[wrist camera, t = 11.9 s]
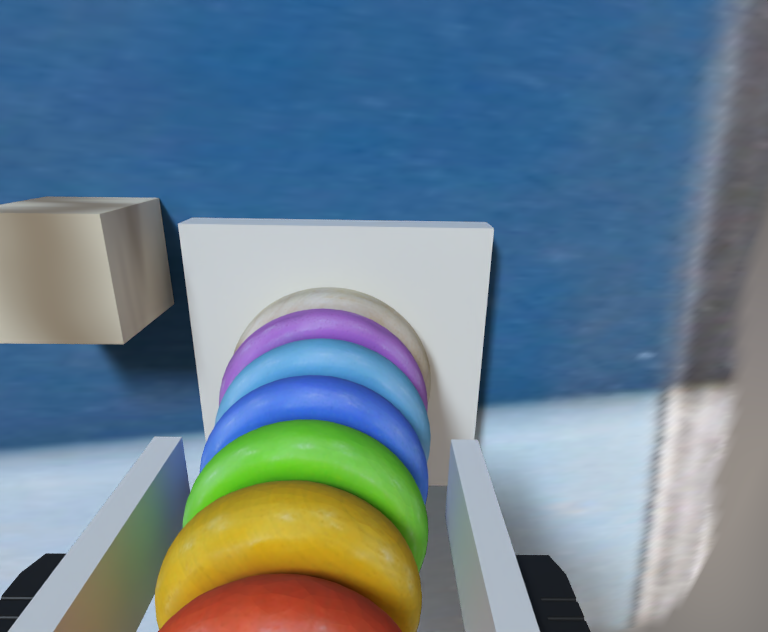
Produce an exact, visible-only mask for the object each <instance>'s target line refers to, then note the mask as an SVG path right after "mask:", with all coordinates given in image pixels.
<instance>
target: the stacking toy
mask: <svg viewBox="0 0 768 632" xmlns="http://www.w3.org/2000/svg"><path fill="white" fill-rule="evenodd" d="M430 390H431V372H430V365H429V361H428V357H427V354H426V351H425V349H424V346H423V344H422V341H421V340H420V338H419V336H418V335H417V333H416V332H415V330H414V329H413V328H412V326H411V325H410V324H409V323H408V322H407V320H406V319H405V318H404V317H403V316H402V315H400V314H399V313H398V312H397V311H396V310H395V309H393V308H392V307H390V306H389V305H387V304H386V303H384V302H382V301H381V300H379V299H377V298H375V297H373V296H371V295H368V294H365V293H362V292H359V291H355V290H351V289H345V288H335V287H321V288H311V289H306V290H302V291H298V292H295V293H292V294H289V295H287V296H284V297H282V298H280V299H278V300H276V301H275V302H273V303H271V304H270V305H268V306H267V307H266V308H264V309H263V310H262V311H261V312H260V313H259V314H257V315H256V317H255V318H254V319H253V320H252V321H251V322H250V323H249V325H248V326H247V328H246V329H245V331H244V332H243V334H242V335H241V337H240V339H239V341H238V343H237V345H236V348H235V351H234V354H233V357H232V358H231V360H230V361H229V363H228V365H227V367H226V370H225V373H224V376H223V379H222V383H221V387H220V394H219V408H218V412H217V415H216V419H215V426H214V428H213V430H212V432H211V433H210V435H209V437H208V440H207V442H206V445H205V447H204V451H203V454H202V458H201V466H200V474H199V476H198V477H197V479H196V481H195V483H194V485H193V487H192V490H191V492H190V494H189V497H188V499H187V503H186V506H185V511H184V517H183V529H182V530H181V531H180V532H179V533H178V535H177V537H176V538H175V540H174V541H173V543H172V544H171V546H170V547H169V549H168V551H167V553H166V556H165V558H164V560H163V563H162V565H161V568H160V572H159V575H158V579H157V583H156V588H155V606H156V618H157V623H158V627H159V631H158V632H416V631H417V628H418V625H419V620H420V614H421V606H422V592H421V582H420V576H419V571H420V569H421V566H422V563H423V560H424V557H425V554H426V548H427V542H428V518H427V513H426V507H425V504H426V499H427V494H428V468H427V461H428V457H429V452H430V440H431V433H430V424H429V419H428V415H427V411H428V401H429V397H430Z"/></svg>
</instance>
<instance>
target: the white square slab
mask: <svg viewBox="0 0 768 632" xmlns="http://www.w3.org/2000/svg"><path fill="white" fill-rule="evenodd" d="M178 228H179V236H180V244H181V251H182V259H183V267H184V275H185V283H186V290H187V298H188V306H189V314H190V321H191V329H192V337H193V345H194V353H195V360H196V368H197V376H198V384H199V392H200V399H201V407H202V415H203V423H204V430H205V438H206V442H207V440H208V437H209V435H210V433H211V432H212V430H213V428H214V426H215V419H216V415H217V412H218V408H219V394H220V387H221V383H222V379H223V376H224V373H225V370H226V367H227V365H228V363H229V361H230V360H231V358H232V357H233V354H234V351H235V348H236V345H237V343H238V341H239V339H240V337H241V335H242V334H243V332H244V331H245V329H246V328H247V326H248V325H249V323H250V322H251V321H252V320H253V319H254V318H255V317H256V315H257V314H259V313H260V312H261V311H262V310H263V309H264V308H266V307H267V306H268V305H270V304H271V303H273V302H275V301H276V300H278V299H280V298H282V297H284V296H287V295H289V294H292V293H295V292H298V291H302V290H306V289H311V288H321V287H335V288H345V289H351V290H355V291H359V292H362V293H365V294H368V295H371V296H373V297H375V298H377V299H379V300H381V301H382V302H384V303H386V304H387V305H389V306H390V307H392V308H393V309H395V310H396V311H397V312H398V313H399V314H400V315H402V316H403V317H404V318H405V319H406V320H407V322H408V323H409V324H410V325H411V326H412V328H413V329H414V330H415V332H416V333H417V335H418V336H419V338H420V340H421V341H422V344H423V346H424V349H425V351H426V354H427V357H428V361H429V365H430V372H431V390H430V397H429V401H428V411H427V415H428V419H429V424H430V433H431V440H430V452H429V457H428V461H427V468H428V486H448V473H449V459H450V446H451V440H474V437H475V426H476V416H477V405H478V394H479V384H480V373H481V362H482V352H483V341H484V330H485V320H486V309H487V298H488V288H489V277H490V266H491V256H492V245H493V234H494V228H493V227H492V226H490V225H489V224H488V223H487V222H446V221H380V220H315V219H249V218H190V219H188V220H186V221H183V222H181V223H179V224H178Z"/></svg>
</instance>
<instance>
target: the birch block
mask: <svg viewBox="0 0 768 632" xmlns="http://www.w3.org/2000/svg"><path fill="white" fill-rule="evenodd" d="M173 304H174V298H173V291H172V284H171V277H170V270H169V264H168V257H167V250H166V243H165V236H164V229H163V222H162V215H161V208H160V201H159V198H121V197H42V198H36V199H31V200H25V201H19V202H14V203H8V204H2V205H0V343H30V344H125V343H126V342H127V341H129V340H130V339H131V338H132V337H134V336H135V335H136V334H137V333H138V332H140V331H141V330H142V329H143V328H145V327H146V326H147V325H148V324H150V323H151V322H152V321H153V320H155V319H156V318H157V317H158V316H160V315H161V314H162V313H163V312H165V311H166V310H167V309H168V308H170V307H171V306H172V305H173Z"/></svg>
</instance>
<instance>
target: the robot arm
mask: <svg viewBox="0 0 768 632" xmlns="http://www.w3.org/2000/svg"><path fill="white" fill-rule="evenodd" d="M189 494H190V489H189V482H188V475H187V468H186V461H185V455H184V448H183V441H182V437H154V438H153V439H152V441H151V442H150V443H149V445H148V446H147V447H146V449H145V450H144V451H143V453H142V454H141V455H140V457H139V458H138V459H137V461H136V462H135V463H134V465H133V466H132V467H131V469H130V470H129V471H128V473H127V474H126V475H125V477H124V478H123V479H122V481H121V482H120V483H119V485H118V486H117V487H116V489H115V490H114V491H113V492H112V494H111V495H110V496H109V498H108V499H107V500H106V502H105V503H104V504H103V506H102V507H101V508H100V510H99V511H98V512H97V514H96V515H95V516H94V518H93V519H92V520H91V522H90V523H89V524H88V526H87V527H86V528H85V530H84V531H83V532H82V534H81V535H80V536H79V538H78V539H77V540H76V542H75V543H74V544H73V546H72V547H71V548H70V550H69V551H68V552H67V554H45V555H43V556H42V557H41V558H40V559H38V560H37V561H36V562H34V563H33V564H32V565H30V566H29V567H28V568H26V569H25V570H24V571H22V572H21V573H20V574H19V575H18V577H17V578H16V579H15V580H14V581H13V583H12V584H11V585H10V586H9V588H8V589H7V590H6V591H5V592H4V594H3V595H2V598H1V600H0V632H136V631H137V629H138V627H139V625H140V623H141V621H142V619H143V616H144V614H145V612H146V610H147V608H148V606H149V604H150V602H151V600H152V598H153V596H154V594H155V588H156V583H157V579H158V575H159V572H160V568H161V565H162V563H163V560H164V558H165V556H166V553H167V551H168V549H169V547H170V546H171V544H172V543H173V541H174V540H175V538H176V537H177V535H178V533H179V532H180V531H181V530H182V529H183V517H184V511H185V506H186V503H187V499H188V497H189ZM445 519H446V525H447V531H448V536H449V542H450V548H451V554H452V560H453V566H454V571H455V577H456V583H457V589H458V595H459V601H460V606H461V612H462V618H463V624H464V630H465V632H590V630H589V627H588V625H587V623H586V621H584V616H583V613H582V611H581V609H580V606H579V604H578V602H576V597H575V594H574V592H573V590H572V587H571V585H570V583H569V580H568V578H567V576H566V574H565V573H564V572H563V571H562V570H561V568H560V567H559V566H558V565H557V564H556V563H555V562H554V561H553V560H552V558H551V557H550V556H549V555H515V553H514V550H513V547H512V544H511V540H510V537H509V534H508V531H507V528H506V525H505V522H504V519H503V516H502V513H501V510H500V506H499V503H498V500H497V497H496V494H495V491H494V488H493V485H492V482H491V479H490V476H489V472H488V469H487V466H486V463H485V460H484V457H483V454H482V451H481V448H480V445H479V442H478V440H451V446H450V459H449V473H448V486H447V499H446V513H445Z"/></svg>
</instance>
